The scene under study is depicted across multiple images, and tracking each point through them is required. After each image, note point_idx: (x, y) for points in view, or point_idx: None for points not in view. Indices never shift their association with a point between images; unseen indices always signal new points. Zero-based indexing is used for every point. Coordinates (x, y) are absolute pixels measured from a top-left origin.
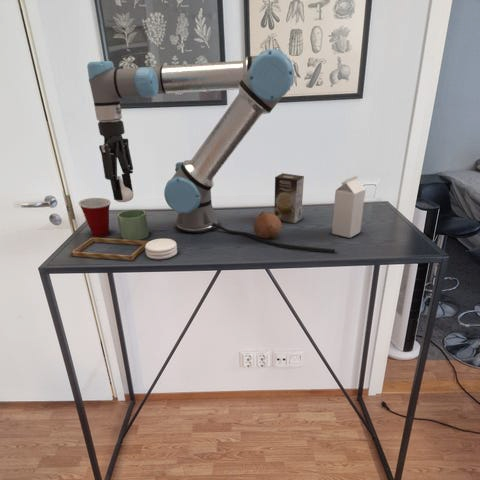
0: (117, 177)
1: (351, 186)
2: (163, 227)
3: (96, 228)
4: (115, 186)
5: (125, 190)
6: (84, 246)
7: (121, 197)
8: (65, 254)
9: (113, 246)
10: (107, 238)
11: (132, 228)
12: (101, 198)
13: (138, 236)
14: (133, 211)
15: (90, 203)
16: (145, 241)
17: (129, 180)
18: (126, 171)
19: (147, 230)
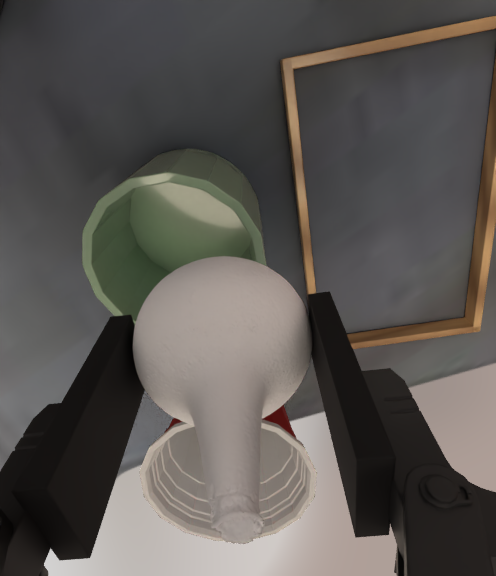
0: (256, 521)
1: None
2: (21, 148)
3: None
4: (412, 403)
5: (250, 333)
6: (389, 332)
7: (327, 305)
8: (456, 350)
9: (344, 234)
10: (309, 293)
11: (250, 200)
12: (150, 495)
13: (234, 169)
14: (113, 296)
15: (199, 503)
16: (293, 74)
17: (82, 418)
18: (12, 562)
19: (164, 155)
